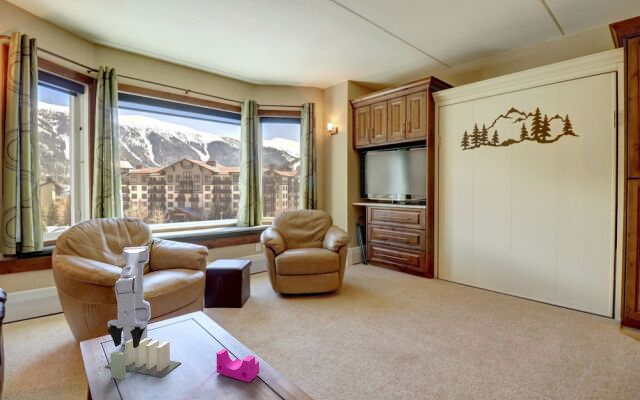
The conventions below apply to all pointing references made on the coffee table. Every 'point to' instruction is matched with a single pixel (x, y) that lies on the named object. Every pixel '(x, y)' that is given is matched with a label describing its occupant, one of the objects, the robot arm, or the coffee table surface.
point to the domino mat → (151, 371)
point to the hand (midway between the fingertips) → (127, 346)
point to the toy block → (237, 366)
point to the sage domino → (118, 365)
